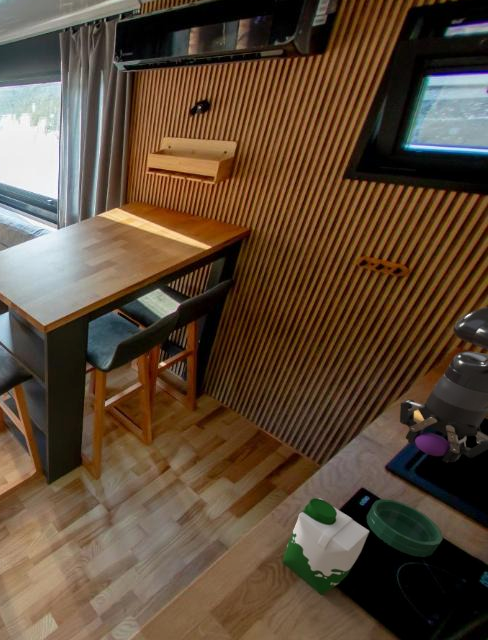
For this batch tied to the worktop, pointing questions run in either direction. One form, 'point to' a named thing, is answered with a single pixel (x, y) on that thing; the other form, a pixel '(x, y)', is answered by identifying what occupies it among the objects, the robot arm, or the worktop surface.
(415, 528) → the bowl
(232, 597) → the worktop surface
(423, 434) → the ball
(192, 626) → the worktop surface
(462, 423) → the robot arm
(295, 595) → the worktop surface
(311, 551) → the milk carton
